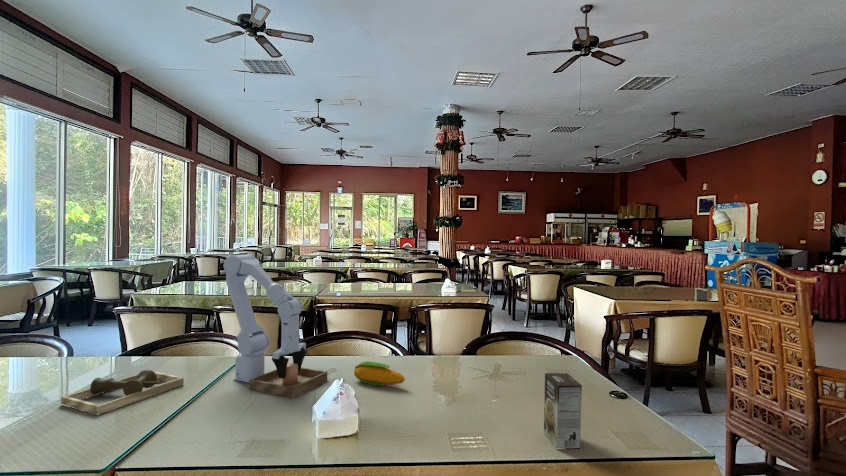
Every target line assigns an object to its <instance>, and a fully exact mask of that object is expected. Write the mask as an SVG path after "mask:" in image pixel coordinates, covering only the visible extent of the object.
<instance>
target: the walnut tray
mask: <svg viewBox="0 0 846 476" xmlns="http://www.w3.org/2000/svg"><path fill="white" fill-rule="evenodd" d="M326 381H328V371H325V370H320V369H314V368H308V367H302V366H301V369H300V372H298V383H297V384H294V385H283V384H282V378H279V375H278V371H277V368H276V369H275V368H274V369H273V370H271V371H267V372H266V373H265V372H264V374H263V375H261V376H258V377H256V378H253V379H251V380H250V383H249V390H254V391H258V392H263V393H267V394H273V395H278V396H284V397H288V398H292V399H294V398H296V397H299V396H300V395H302V394H304V393H306V392H308V391H309V390H311V389H313V388H316V387H317V386H319V385H322V384H323V383H324V382H326Z"/></svg>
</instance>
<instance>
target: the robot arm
mask: <svg viewBox="0 0 846 476" xmlns="http://www.w3.org/2000/svg"><path fill="white" fill-rule="evenodd" d="M222 267H223V269H224V272H225V283H226V286H227V289H228V290H227V291H228V293H229V296H230V299H231V302H232V305H233V308H234V312H235V314H236V318H237V320H238V324H239V328H240V329H239V330H240V331H239V332H238V333H237V335H236V340H237V349H238V352H239V354H237V356H236V358H235V362H234V366H235V368H234V369H235V370H234V371H235V372H234V373H235V375H234V377H233V380H234V381H239V382H244V383H248V384H250V380H251V379H253V378H256V377H258V376H261V375H263V374H265V363H266V362H265V359H266V358H265V357H266V356H265V355H266V354H265V353H266V351H267V349H268V347H269V345H270V338H269V335H268V334H267V333H266V332H265V329H264V327H262V326H261V325H259V324H258V323H257V320H256V316H255V313H254V310H253V307H252V303H251V301H250V297H249V294H248V291H247V288H246V285H245V282H246V279H247V278H248V277H249V276H251V277H252V278H253V279H254V280H255V281H257V283H259V285H260V286H262V288H264V289H265V296H266V297H268V299H270V301H271V302H272V303H273V304H274V305H275V307H276V308H277V313H278V315H279V317H280V323H281V332H280V333H281V337H280V338H281V339H280V345H281V346H280V348H278V349H277V350H276V351H274V352H272V357H271V360H272V362H273V363H274V366H275V368H276V369H277V371H278V375H279V378H283V379H284V378H285V377H286V368H287V363H289V361H290V358H289V357H288V358H287V357H285V356H288V355H290V354H291V357H292V363H296V364H298V372H300V369H301V367H302V364H303V361H304V359H305V357H306V355H307V354H308V351H307V349H306V347H307V344H306V342H300V339H299V338H300V314H301V313H302V311H303V308H304V307H303V303H302V301H301V300H300V298H297V297H294V296H293V295H292V294H290V293H289V292H288V291H287V290H286V289H285V286H284V285H283V284H280V282H279V283H277V282H274V281H273V279H272V278H271V277H270V276H269V275H268V273H267V272H266V271H265V270H264V268H263V267H262V266H261V265H260V261H259V259H258V258H257V257H256V256H255V255H254V254H252V253H247V254H235V255H233V254H230V255H229V256H227V257H226V259H225V261H224V263H223V265H222Z"/></svg>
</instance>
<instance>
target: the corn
mask: <svg viewBox="0 0 846 476" xmlns="http://www.w3.org/2000/svg"><path fill="white" fill-rule="evenodd" d="M390 367H391V366H390V365H387V364H385V363H381V362H375V361H362V362H360V363H358V364H356V365H355V367H354V370H353V373H354V376H355V378H356V379H357V380H359V381H360V382H363V383H365V384H368V385H374V386H379V387H385V385H389V386H390V385H397V384H403V383H404V381H405V379H406V377H405V376H404V375H403V374H401V373H400V372H397V371H395V370H393V369H391V368H390Z"/></svg>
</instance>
